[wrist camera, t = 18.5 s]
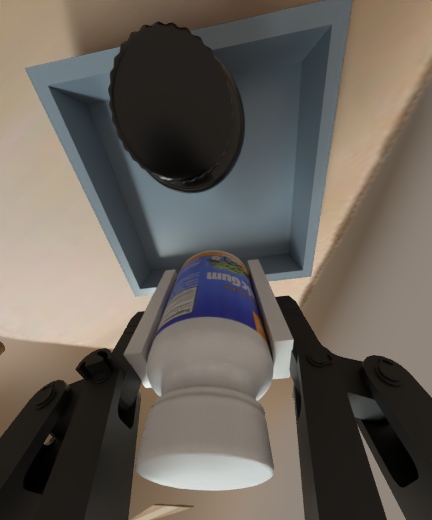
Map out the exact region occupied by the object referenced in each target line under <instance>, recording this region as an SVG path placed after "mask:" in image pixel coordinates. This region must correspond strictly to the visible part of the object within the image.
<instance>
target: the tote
mask: <svg viewBox="0 0 432 520" xmlns="http://www.w3.org/2000/svg"><path fill="white" fill-rule="evenodd" d="M351 6H352V0H324V1H320V2H315V3H311V4H307V5H302V6H298V7H293V8H289V9H285V10H280V11H276V12H271V13H267V14H262V15H258V16H254V17H249V18H245V19H240V20H236V21H232V22H227V23H223V24H218V25H214V26H209V27H205V28H201V29H196V30H192V31H190V32H191V34H192V35H196V36H199V37H201V39H202V41H203V43H204V45H205V46H207V47H209V48H211V49H212V51H213V54H214V55H215V56H216V57H217V58H218V59H219V60H220V61H221V62H222V63H223V64H224V66H225V67H226V68H227V69H228V71H229V72H230V74H231V75H232V77H233V79H234V81H235V83H236V85H237V87H238V89H239V92H240V95H241V98H242V102H243V107H244V113H245V136H244V142H243V147H242V150H241V154H240V156H239V159H238V161H237V163H236V165H235V167H234V168H233V170H232V171H231V172H230V174H229V175H228V176H227V177H226V178H225V179H224V180H223V181H222V182H221V183H220V184H218V185H217V186H215V187H214V188H212V189H210V190H207V191H205V192H201V193H194V194H187V193H180V192H176V191H173V190H171V189H168V188H166V187H165V186H163V185H161V184H160V183H158V182H157V181H156V180H155V179H153V178H152V177H151V176H150V175H149V174H148V173H147V172H146V170H144V169H142V168H141V167H140V166H139V164H138V163H137V162H135V161H134V160H132V158H131V156H130V154H129V152H127V151H126V150H125V149H124V147H123V144H122V141H121V140H120V139H119V137H118V136H117V132H116V131H117V130H116V127H115V126H114V124H113V122H112V112H111V110H110V107H109V102H110V96H109V92H108V88H109V85H110V72H111V70H112V69H113V67H114V57H115V56H116V55H117V54H118V53H119V52H120V47H117V48H112V49H108V50H103V51H99V52H95V53H90V54H86V55H81V56H77V57H73V58H68V59H64V60H59V61H55V62H50V63H46V64H42V65H37V66H33V67H28V68H25V70H26V72H27V74H28V76H29V78H30V80H31V82H32V84H33V86H34V88H35V90H36V92H37V94H38V97H39V99H40V101H41V103H42V105H43V107H44V109H45V111H46V113H47V115H48V117H49V119H50V121H51V123H52V125H53V128H54V130H55V132H56V134H57V136H58V138H59V140H60V142H61V144H62V146H63V148H64V150H65V152H66V154H67V156H68V159H69V161H70V163H71V165H72V167H73V169H74V171H75V173H76V175H77V177H78V179H79V181H80V183H81V185H82V187H83V190H84V192H85V194H86V196H87V198H88V200H89V202H90V204H91V206H92V208H93V210H94V212H95V214H96V216H97V218H98V221H99V223H100V225H101V227H102V229H103V231H104V233H105V235H106V237H107V239H108V241H109V243H110V245H111V247H112V249H113V251H114V254H115V256H116V258H117V260H118V262H119V264H120V266H121V268H122V270H123V272H124V274H125V276H126V278H127V280H128V282H129V285H130V287H131V289H132V291H133V293H134V295H135V297H136V296H145V295H153V294H154V292H155V290H156V288H157V286H158V284H159V282H160V280H161V278H162V276H163V274H164V272H165V270H174V269H175V270H176V274H177V277H178V275H179V272H180V270H181V268H182V267H183V265H184V264H185V262H186V261H187V260H188V259H190V258H191V257H192V256H194V255H196V254H198V253H200V252H204V251H209V250H219V251H224V252H228V253H230V254H232V255H234V256H236V257H237V258H238V259H239V260H240V261H241V262H242V263H243V264H244V265H245V267H246V269H247V271H248V260H255V259H258V260H259V262H260V264H261V267H262V269H263V271H264V274H265V276H266V278H267V280H268V281H276V280H285V279H293V278H302V277H311V274H312V267H313V260H314V254H315V247H316V240H317V234H318V227H319V220H320V214H321V207H322V200H323V194H324V187H325V180H326V173H327V167H328V160H329V153H330V147H331V140H332V133H333V127H334V120H335V113H336V107H337V100H338V93H339V86H340V80H341V73H342V66H343V60H344V53H345V46H346V40H347V33H348V26H349V20H350V13H351ZM248 274H249V273H248Z"/></svg>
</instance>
